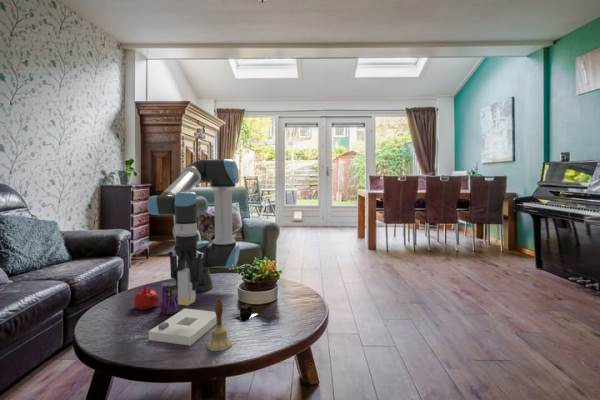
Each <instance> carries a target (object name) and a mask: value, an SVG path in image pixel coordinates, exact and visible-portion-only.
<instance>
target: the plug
mask: <svg viewBox="0 0 600 400" xmlns="http://www.w3.org/2000/svg"><path fill="white" fill-rule="evenodd" d="M190 281H192V280H191V275H190V270H189V268H185V267H184V269H182V270H180V271H178V305H179V306H189V305H191V304H193V303H195V302H196V298H194V299H193V300H190Z"/></svg>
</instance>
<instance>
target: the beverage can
mask: <svg viewBox="0 0 600 400" xmlns="http://www.w3.org/2000/svg"><path fill="white" fill-rule="evenodd" d="M179 311H180V305H178V289H176V281H172V280H171V281H165V282H162V283H161V287H160V313H163V314H165V315H172V314H176V313H178V312H179Z"/></svg>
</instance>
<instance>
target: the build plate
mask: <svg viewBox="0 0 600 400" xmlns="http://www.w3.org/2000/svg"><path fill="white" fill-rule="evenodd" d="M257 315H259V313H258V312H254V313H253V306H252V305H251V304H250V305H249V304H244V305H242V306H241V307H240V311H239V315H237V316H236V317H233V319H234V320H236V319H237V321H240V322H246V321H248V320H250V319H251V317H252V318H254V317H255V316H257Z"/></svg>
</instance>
